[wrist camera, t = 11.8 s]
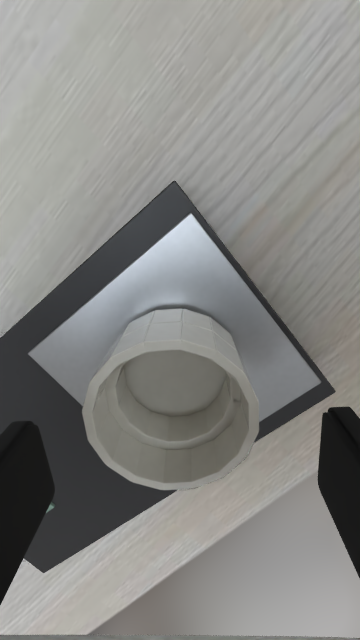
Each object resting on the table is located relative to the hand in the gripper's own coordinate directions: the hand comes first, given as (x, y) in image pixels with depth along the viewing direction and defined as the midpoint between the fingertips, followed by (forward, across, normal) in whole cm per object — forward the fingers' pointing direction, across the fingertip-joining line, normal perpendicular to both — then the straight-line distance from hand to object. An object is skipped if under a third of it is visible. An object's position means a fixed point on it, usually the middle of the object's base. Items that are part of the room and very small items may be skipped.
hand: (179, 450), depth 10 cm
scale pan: (+7, +1, 0) cm, 7 cm away
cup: (+6, 0, 0) cm, 6 cm away
